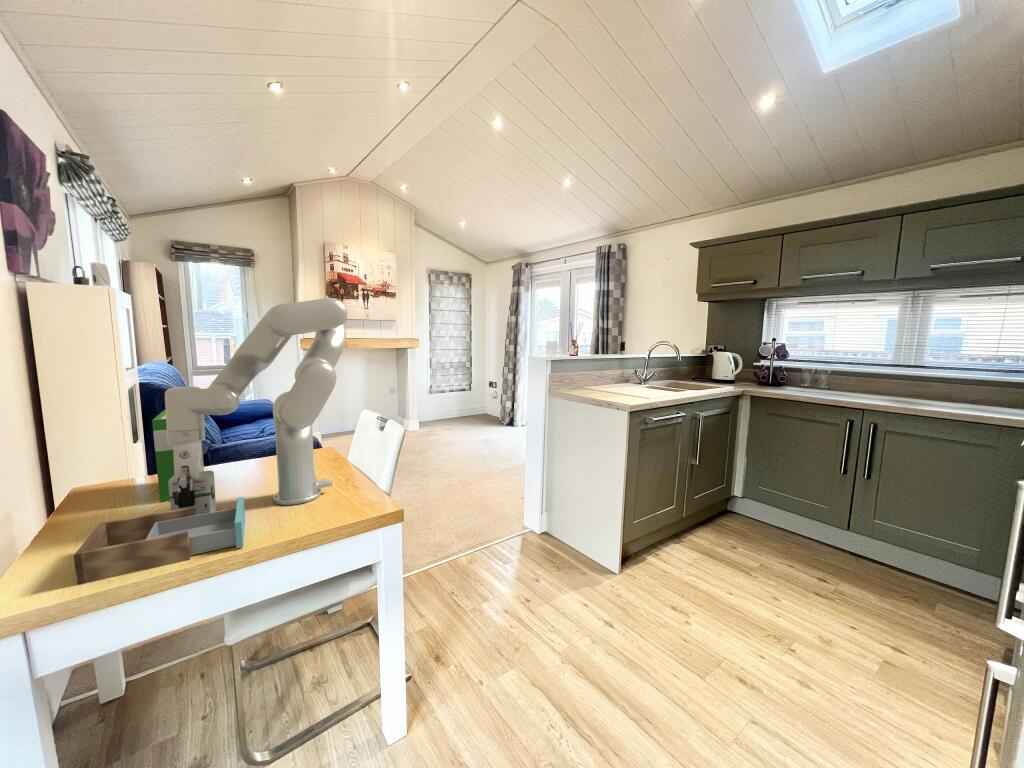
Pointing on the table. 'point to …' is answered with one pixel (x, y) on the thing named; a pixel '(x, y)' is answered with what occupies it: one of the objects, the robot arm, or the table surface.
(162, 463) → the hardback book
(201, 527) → the tray
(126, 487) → the table surface
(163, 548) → the storage unit
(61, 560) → the table surface
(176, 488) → the ink box
